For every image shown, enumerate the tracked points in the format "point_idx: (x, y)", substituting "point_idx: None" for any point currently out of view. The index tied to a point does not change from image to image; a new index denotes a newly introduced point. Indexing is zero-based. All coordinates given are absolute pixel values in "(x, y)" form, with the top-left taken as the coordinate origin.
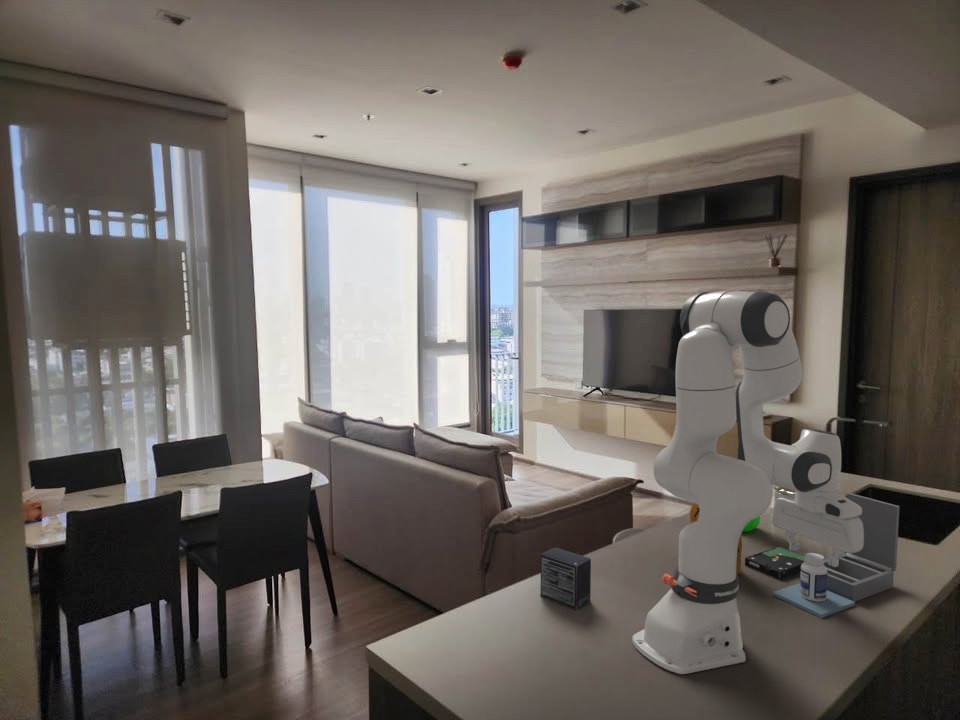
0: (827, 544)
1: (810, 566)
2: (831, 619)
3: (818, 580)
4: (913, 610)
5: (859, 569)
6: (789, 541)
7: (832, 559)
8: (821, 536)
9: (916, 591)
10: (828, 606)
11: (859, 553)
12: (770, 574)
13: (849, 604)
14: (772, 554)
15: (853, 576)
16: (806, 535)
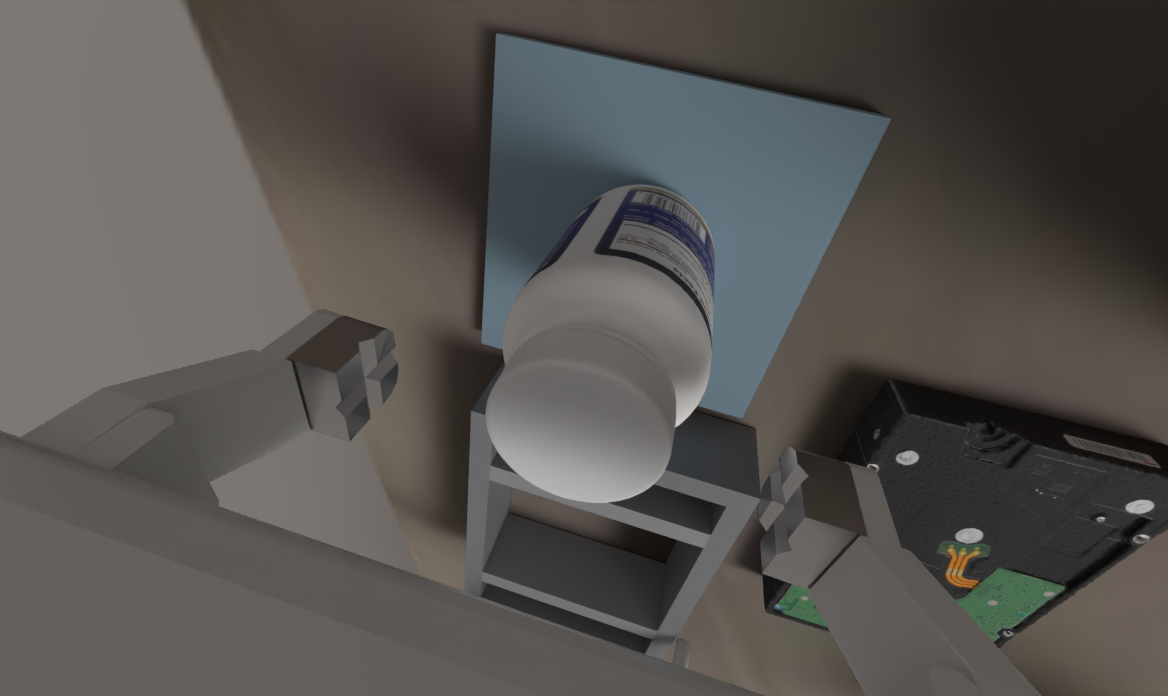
0: (106, 485)
1: (596, 317)
2: (467, 73)
3: (547, 257)
4: (363, 426)
5: (567, 583)
6: (908, 567)
7: (281, 352)
8: (92, 664)
9: (438, 547)
10: (529, 196)
11: None
12: (959, 400)
13: (484, 304)
14: (991, 593)
15: (600, 554)
16: (527, 679)
